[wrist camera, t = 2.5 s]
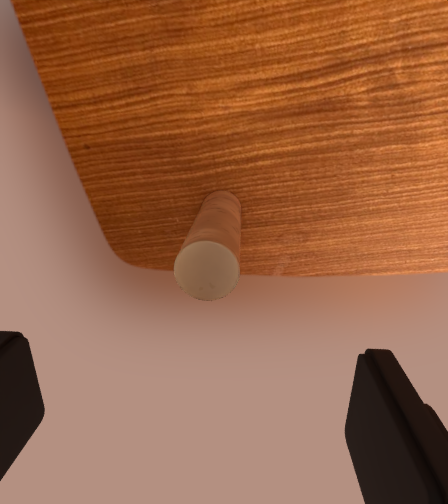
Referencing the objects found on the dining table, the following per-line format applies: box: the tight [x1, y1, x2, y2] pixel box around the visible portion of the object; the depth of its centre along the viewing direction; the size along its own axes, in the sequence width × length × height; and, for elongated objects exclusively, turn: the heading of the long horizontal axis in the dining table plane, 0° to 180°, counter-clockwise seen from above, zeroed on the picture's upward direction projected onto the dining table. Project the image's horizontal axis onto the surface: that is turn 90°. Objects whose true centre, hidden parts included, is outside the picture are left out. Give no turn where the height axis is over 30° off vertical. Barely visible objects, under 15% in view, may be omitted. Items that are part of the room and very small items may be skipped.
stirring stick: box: [174, 190, 241, 301], centre depth 22 cm, size 3×3×12 cm
